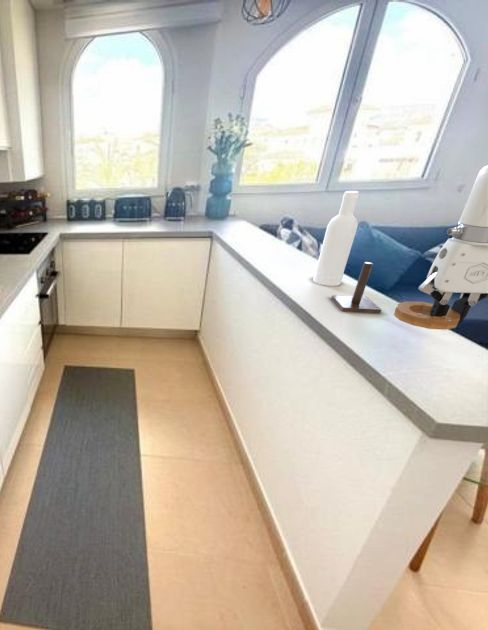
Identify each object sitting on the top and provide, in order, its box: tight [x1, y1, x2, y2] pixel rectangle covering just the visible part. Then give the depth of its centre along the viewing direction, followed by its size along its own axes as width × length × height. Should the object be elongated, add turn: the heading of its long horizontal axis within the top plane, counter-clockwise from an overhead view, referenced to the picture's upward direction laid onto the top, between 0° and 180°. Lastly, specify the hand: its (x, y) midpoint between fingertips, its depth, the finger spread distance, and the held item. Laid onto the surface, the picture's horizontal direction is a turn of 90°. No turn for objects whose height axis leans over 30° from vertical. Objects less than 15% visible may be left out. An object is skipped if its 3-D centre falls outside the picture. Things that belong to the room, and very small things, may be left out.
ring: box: [393, 300, 460, 331], centre depth 74 cm, size 10×10×2 cm
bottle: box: [312, 190, 360, 287], centre depth 112 cm, size 8×8×30 cm
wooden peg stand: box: [330, 261, 382, 315], centre depth 98 cm, size 9×9×14 cm
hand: (445, 319), depth 73 cm, fingers closed on ring, 2 cm apart
